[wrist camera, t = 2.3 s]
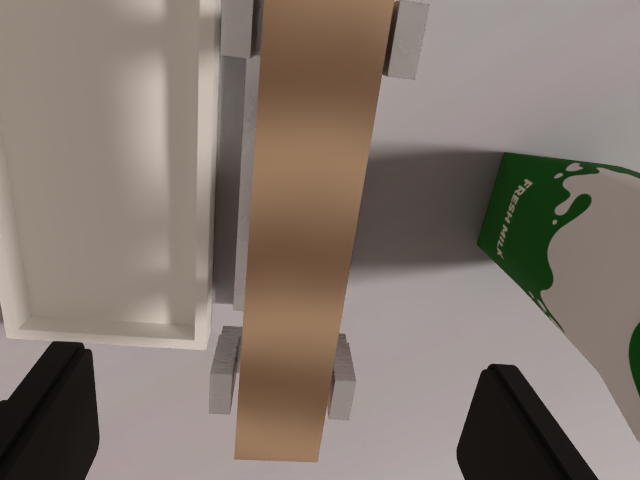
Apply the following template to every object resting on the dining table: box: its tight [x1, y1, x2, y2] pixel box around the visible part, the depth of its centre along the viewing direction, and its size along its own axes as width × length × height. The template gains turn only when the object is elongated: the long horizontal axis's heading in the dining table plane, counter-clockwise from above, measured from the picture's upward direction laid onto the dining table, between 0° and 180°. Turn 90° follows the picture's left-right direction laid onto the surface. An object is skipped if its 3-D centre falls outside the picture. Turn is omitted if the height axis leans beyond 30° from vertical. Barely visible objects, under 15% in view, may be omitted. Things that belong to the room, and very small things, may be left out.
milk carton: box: [477, 152, 640, 442], centre depth 24 cm, size 9×9×20 cm
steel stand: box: [209, 0, 430, 420], centre depth 24 cm, size 22×7×13 cm, turn 173°
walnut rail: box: [234, 0, 394, 462], centre depth 19 cm, size 22×4×4 cm, turn 173°
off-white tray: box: [0, 0, 221, 350], centre depth 28 cm, size 28×14×2 cm, turn 173°
